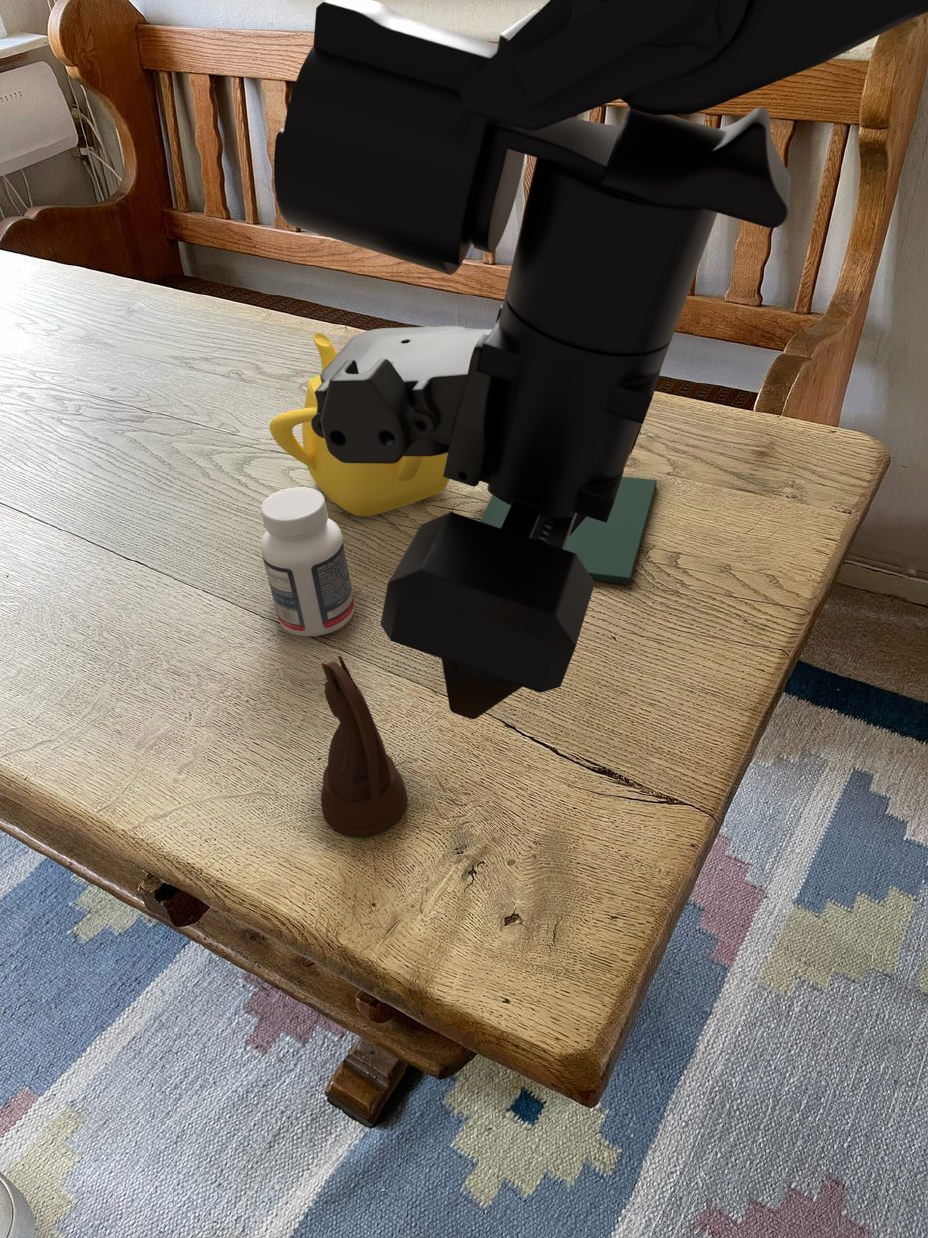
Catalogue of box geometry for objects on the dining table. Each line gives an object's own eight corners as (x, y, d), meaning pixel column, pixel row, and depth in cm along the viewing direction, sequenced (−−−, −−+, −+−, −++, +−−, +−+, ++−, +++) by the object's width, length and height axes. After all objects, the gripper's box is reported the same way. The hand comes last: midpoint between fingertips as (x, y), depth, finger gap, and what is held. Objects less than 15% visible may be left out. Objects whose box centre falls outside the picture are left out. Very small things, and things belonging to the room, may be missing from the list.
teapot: (263, 515, 75) (235, 394, 69) (333, 437, 84) (314, 324, 78) (426, 540, 71) (412, 414, 65) (481, 454, 80) (474, 337, 74)
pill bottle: (355, 586, 67) (336, 476, 62) (356, 633, 63) (336, 520, 58) (279, 595, 67) (254, 485, 61) (276, 643, 63) (248, 530, 57)
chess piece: (383, 761, 54) (360, 625, 48) (427, 821, 51) (408, 682, 44) (309, 796, 53) (275, 660, 46) (349, 861, 49) (318, 723, 43)
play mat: (656, 486, 75) (656, 479, 75) (629, 585, 65) (630, 577, 65) (507, 471, 78) (507, 465, 78) (461, 564, 69) (460, 557, 68)
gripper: (443, 165, 39) (391, 475, 50) (238, 357, 26) (226, 729, 36) (705, 244, 38) (596, 544, 49) (637, 487, 25) (506, 830, 35)
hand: (492, 641), depth 42 cm, fingers open, 9 cm apart
